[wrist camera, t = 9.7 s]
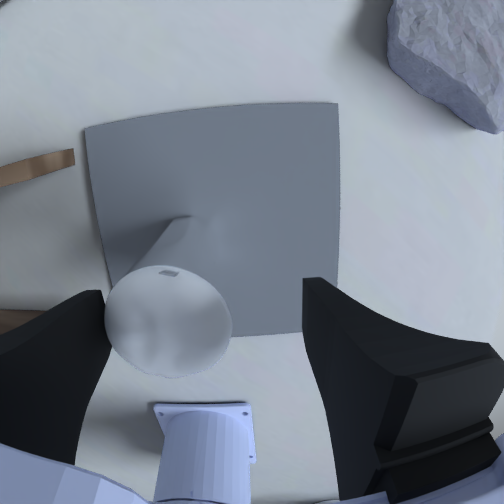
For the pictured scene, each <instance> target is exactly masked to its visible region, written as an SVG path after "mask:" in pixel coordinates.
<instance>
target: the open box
mask: <svg viewBox="0 0 504 504" xmlns="http://www.w3.org/2000/svg"><path fill="white" fill-rule="evenodd" d="M72 165H75V159H74V151H73V149H68V150H63V151H59V152H54V153H50V154H46V155H41V156H37V157H33V158H29V159H25V160H22V161H18V162H15V163H12V164H8V165H5V166H2V167H0V187H3V186H7V185H11V184H14V183H18V182H22V181H26V180H30V179H33V178H36V177H38V176H41V175H44V174H47V173H50V172H53V171H56V170H59V169H63V168H66V167H69V166H72ZM45 312H46V311H32V310H0V335H1V334H3V333H6V332H8V331H10V330H12V329H15V328H17V327H19V326H21V325H23V324H25V323H27V322H28V321H30V320H32V319H34V318H36V317H37V316H39V315H41V314H43V313H45Z"/></svg>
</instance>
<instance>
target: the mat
mask: <svg viewBox="0 0 504 504" xmlns="http://www.w3.org/2000/svg"><path fill="white" fill-rule="evenodd" d="M85 139H86V148H87V156H88V164H89V171H90V178H91V185H92V191H93V197H94V203H95V209H96V214H97V220H98V225H99V230H100V235H101V240H102V244H103V249H104V253H105V258H106V262H107V266H108V270H109V274H110V278H111V282H112V286H113V287H114V286H115V285H116V284H117V283H118V281H119V280H120V279H121V278H122V277H123V276H124V274H125V273H126V272H127V271H128V270H129V269H130V268H131V266H132V265H133V264H134V263H135V262H136V261H137V260H138V259H139V258H140V257H141V256H142V254H143V253H144V252H145V251H146V249H147V248H148V247H149V245H150V244H151V243H152V242H153V240H154V239H155V238H156V237H157V235H158V234H159V233H160V232H161V231H162V230H163V229H164V228H165V227H166V226H167V225H168V224H169V223H170V222H171V221H172V220H173V219H175V218H184V217H192V216H193V217H194V218H196V219H198V220H200V221H202V222H204V223H206V224H207V225H209V227H210V229H211V231H212V233H213V235H214V237H215V239H216V241H217V247H218V254H219V260H220V267H221V274H222V281H223V286H224V290H225V295H226V299H227V303H228V308H229V312H230V315H231V319H232V334H231V337H244V336H259V335H273V334H285V333H296V332H302V278H311V277H321V278H323V279H325V280H326V281H328V282H329V283H331V284H332V285H333V286H335V287H336V288H337V278H338V258H339V230H340V141H339V114H338V103H277V104H254V105H238V106H225V107H214V108H204V109H195V110H186V111H179V112H171V113H164V114H157V115H151V116H145V117H139V118H133V119H128V120H122V121H117V122H112V123H107V124H103V125H98V126H93V127H89V128H85Z"/></svg>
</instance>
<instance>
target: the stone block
mask: <svg viewBox="0 0 504 504" xmlns="http://www.w3.org/2000/svg"><path fill="white" fill-rule="evenodd" d="M387 28H388V36H387V37H388V38H387V46H388V50H387V58H388V62H389V66H390V68H391V69H392V70H393V71H394V72H395V73H396V74H397V75H399V76H400V77H401V78H403V79H404V80H405V81H406V82H407V83H408V84H409V85H410V86H411V87H412V88H413V89H414V90H415V91H416V92H417V93H419V94H421V95H424V96H426V97H428V98H430V99H432V100H434V101H435V102H437V103H441V104H444V105H445V106H446V107H448V108H449V109H450V110H451V111H452V112H453V113H455V114H456V115H457V116H458V117H460V118H461V119H463V120H464V121H465V122H467V123H468V124H470V125H471V126H473V127H474V128H475V129H478V130H482V131H485V132H488V133H491V134H498V133H500V132H502V131H504V0H394V1H393V5H392V6H391V8H390V12H389V14H388V16H387Z"/></svg>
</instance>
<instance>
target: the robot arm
mask: <svg viewBox="0 0 504 504" xmlns="http://www.w3.org/2000/svg"><path fill="white" fill-rule="evenodd" d="M104 314H105V303H104V299H103V296H102V292H101V290H86V291H83V292H81V293H79V294H77V295H75V296H73V297H71V298H69V299H67V300H65V301H64V302H62V303H60V304H58V305H57V306H55V307H53V308H52V309H50V310H48V311H46V312H45V313H43V314H41V315H39V316H37V317H36V318H34V319H32V320H30V321H28V322H27V323H25V324H23V325H21V326H19V327H17V328H15V329H12V330H10V331H8V332H6V333H3V334H1V335H0V504H251V494H250V464H254V463H256V451H255V442H254V433H253V424H252V414H251V406H250V405H249V404H247V403H232V404H155V405H154V408H153V409H154V412H155V414H156V417H157V419H158V422H159V424H160V426H161V429H162V431H163V433H164V436H165V439H164V444H163V450H162V455H161V460H160V466H159V471H158V477H157V482H156V488H155V494H154V499H153V502H151V501H147V500H145V499H144V498H143V497H141V496H140V495H139V494H137V493H136V492H135V491H134V490H132V489H131V488H129V487H126V486H124V485H122V484H120V483H118V482H116V481H114V480H112V479H110V478H107V477H105V476H104V475H101V474H98V473H95V472H92V471H88V470H85V469H82V468H79V467H76V466H74V465H75V457H76V451H77V446H78V441H79V436H80V431H81V427H82V423H83V419H84V416H85V412H86V409H87V406H88V404H89V401H90V399H91V397H92V394H93V392H94V390H95V387H96V385H97V383H98V381H99V378H100V376H101V374H102V372H103V369H104V367H105V365H106V363H107V360H108V358H109V355H110V352H111V348H112V345H111V343H110V341H109V339H108V336H107V333H106V329H105V323H104ZM302 332H303V337H304V343H305V348H306V352H307V355H308V358H309V361H310V364H311V367H312V370H313V373H314V376H315V379H316V382H317V385H318V388H319V391H320V394H321V397H322V400H323V404H324V407H325V411H326V416H327V421H328V426H329V431H330V437H331V443H332V449H333V455H334V461H335V468H336V475H337V482H338V490H339V499H340V501H339V502H333V503H328V504H504V433H503V434H501V435H500V436H499V437H498V438H497V439H496V440H495V441H494V439H493V437H492V436H491V434H490V432H491V431H492V430H493V423H492V422H491V420H490V419H489V417H488V416H489V415H490V413H491V411H492V410H493V408H494V406H495V404H496V402H497V401H498V399H499V397H500V395H501V393H502V391H503V388H504V361H503V359H502V358H501V357H500V356H499V355H498V353H497V352H496V351H495V350H494V349H493V348H492V347H491V345H490V344H489V343H484V342H475V341H466V340H458V339H453V338H448V337H443V336H439V335H435V334H431V333H427V332H424V331H421V330H417V329H414V328H411V327H408V326H406V325H403V324H400V323H398V322H396V321H393V320H391V319H389V318H387V317H384V316H382V315H380V314H378V313H376V312H374V311H373V310H371V309H369V308H367V307H366V306H364V305H362V304H360V303H359V302H357V301H356V300H354V299H352V298H351V297H349V296H348V295H346V294H345V293H343V292H342V291H341V290H339V289H338V288H336V287H335V286H333V285H332V284H331V283H329V282H328V281H326V280H325V279H323V278H321V277H311V278H302Z"/></svg>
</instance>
